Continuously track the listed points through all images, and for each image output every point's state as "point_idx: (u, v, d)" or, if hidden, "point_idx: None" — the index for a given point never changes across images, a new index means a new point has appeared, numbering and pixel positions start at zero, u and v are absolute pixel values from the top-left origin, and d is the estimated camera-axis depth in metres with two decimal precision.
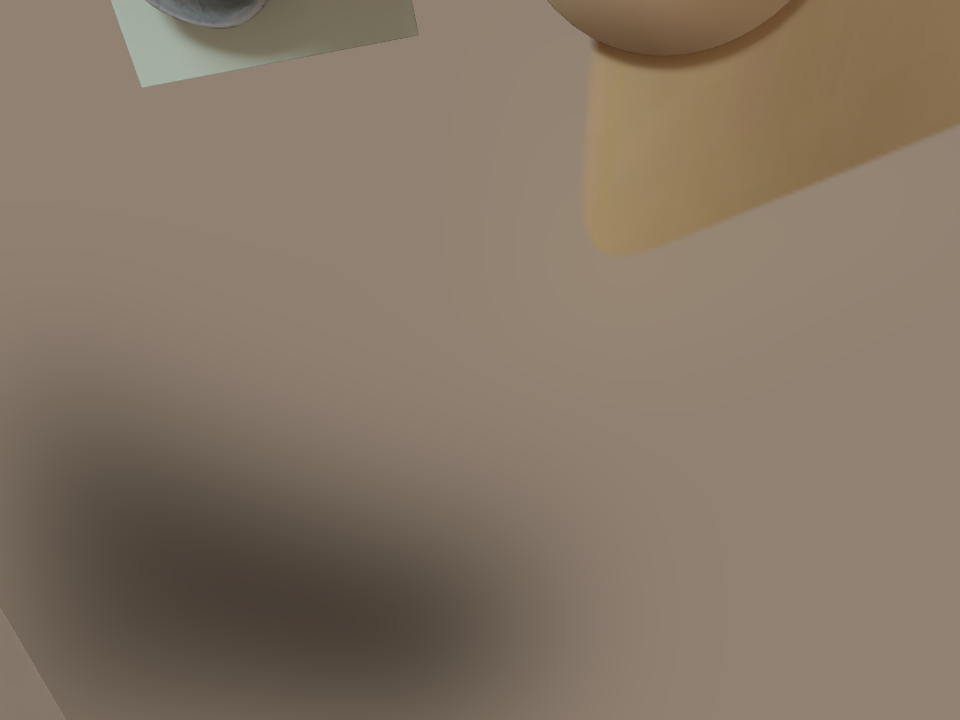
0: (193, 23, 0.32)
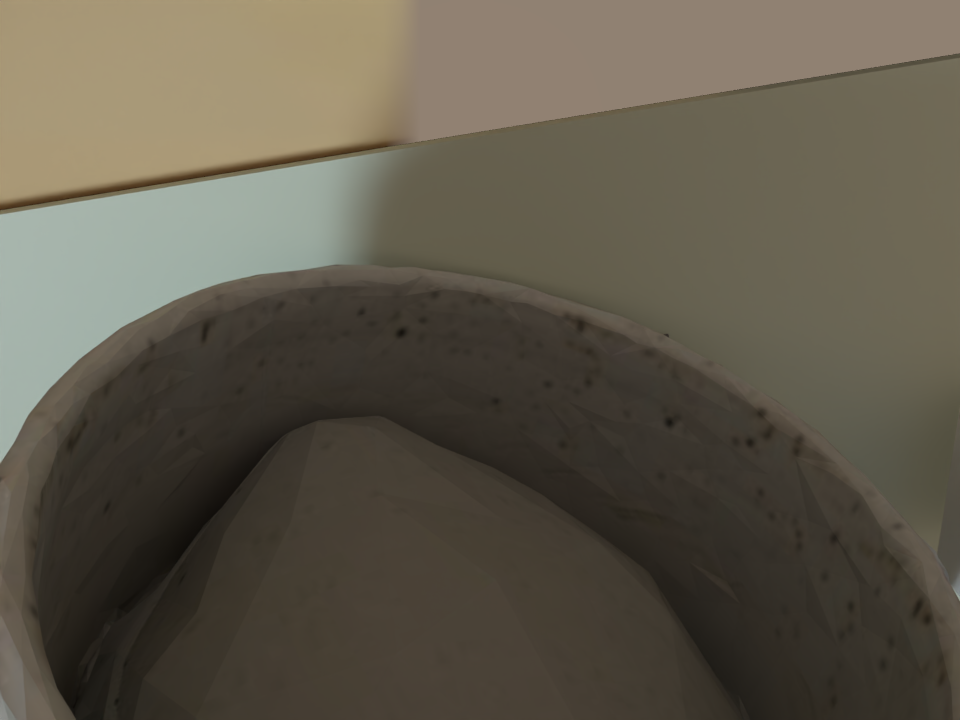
0: None
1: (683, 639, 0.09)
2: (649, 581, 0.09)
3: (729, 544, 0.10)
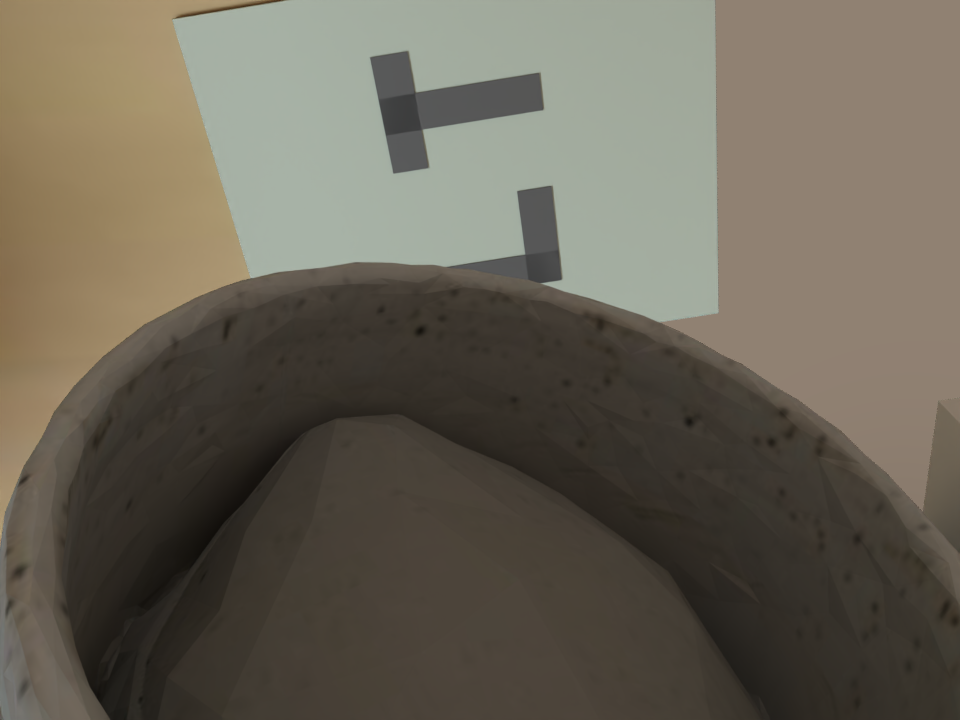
0: None
1: (705, 639, 0.09)
2: (669, 581, 0.09)
3: (749, 544, 0.10)
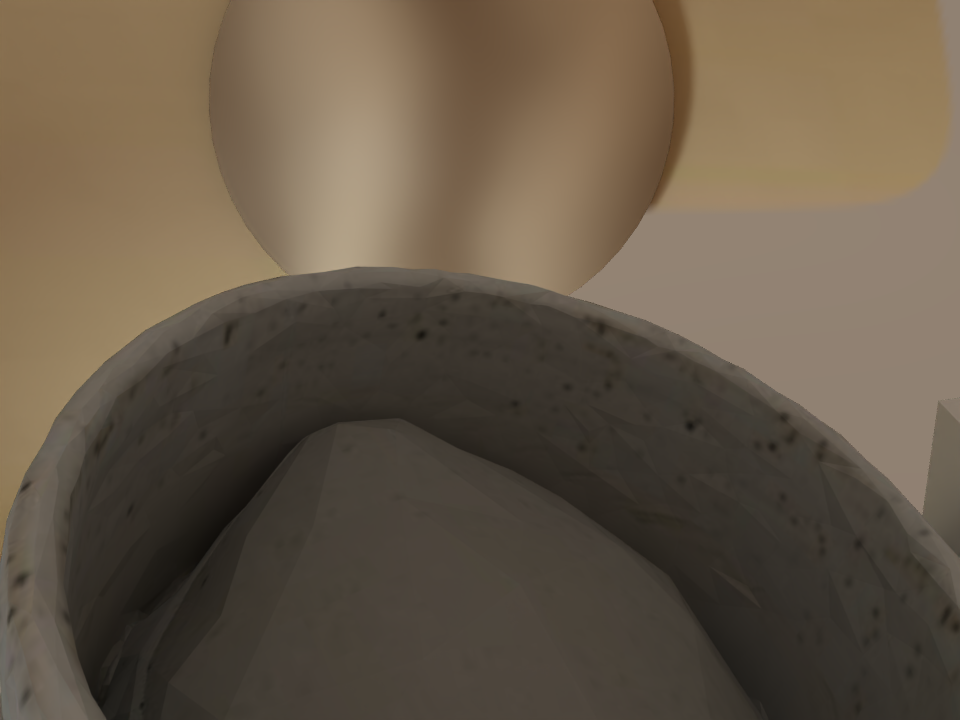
0: None
1: (706, 644, 0.09)
2: (670, 585, 0.09)
3: (750, 549, 0.10)
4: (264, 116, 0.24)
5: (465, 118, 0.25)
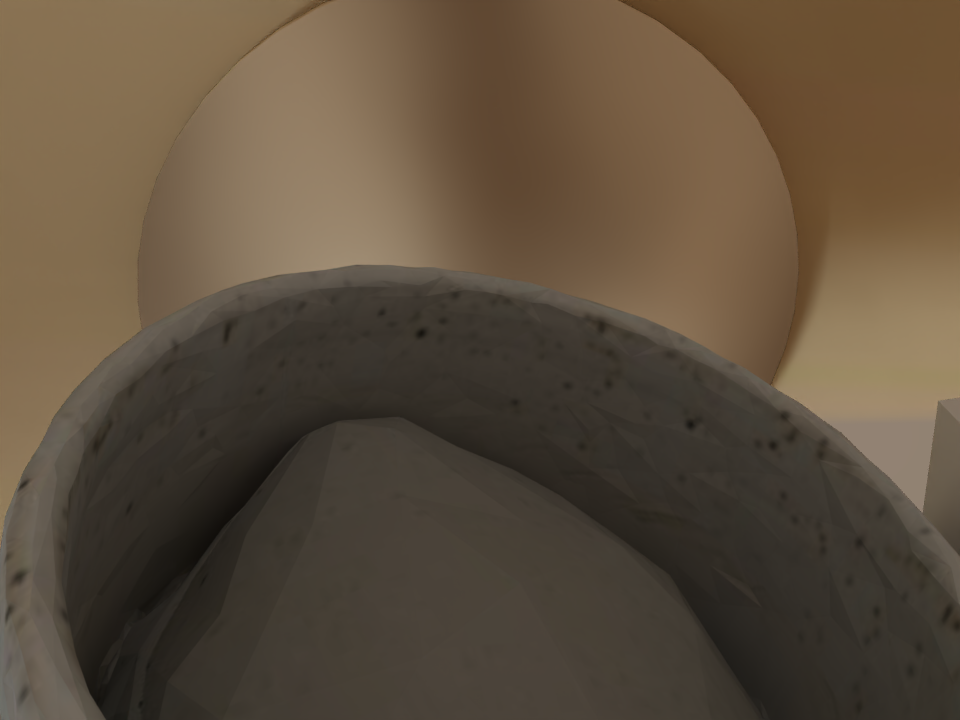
0: None
1: (706, 643, 0.09)
2: (671, 584, 0.09)
3: (751, 548, 0.10)
4: None
5: None
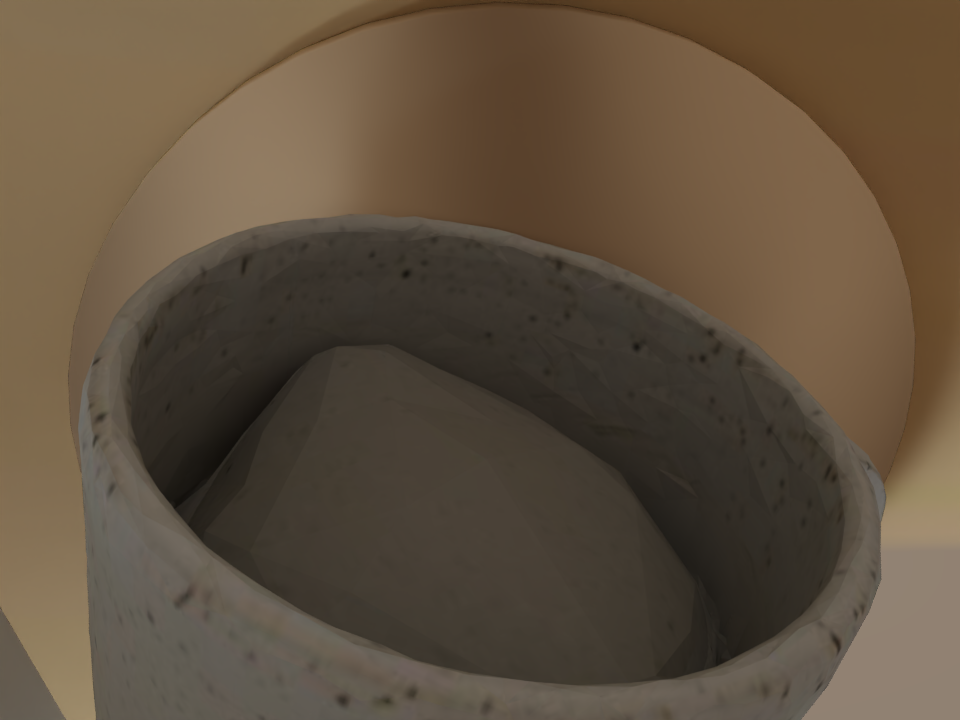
0: None
1: (645, 517, 0.10)
2: (619, 476, 0.11)
3: (688, 448, 0.12)
4: None
5: None
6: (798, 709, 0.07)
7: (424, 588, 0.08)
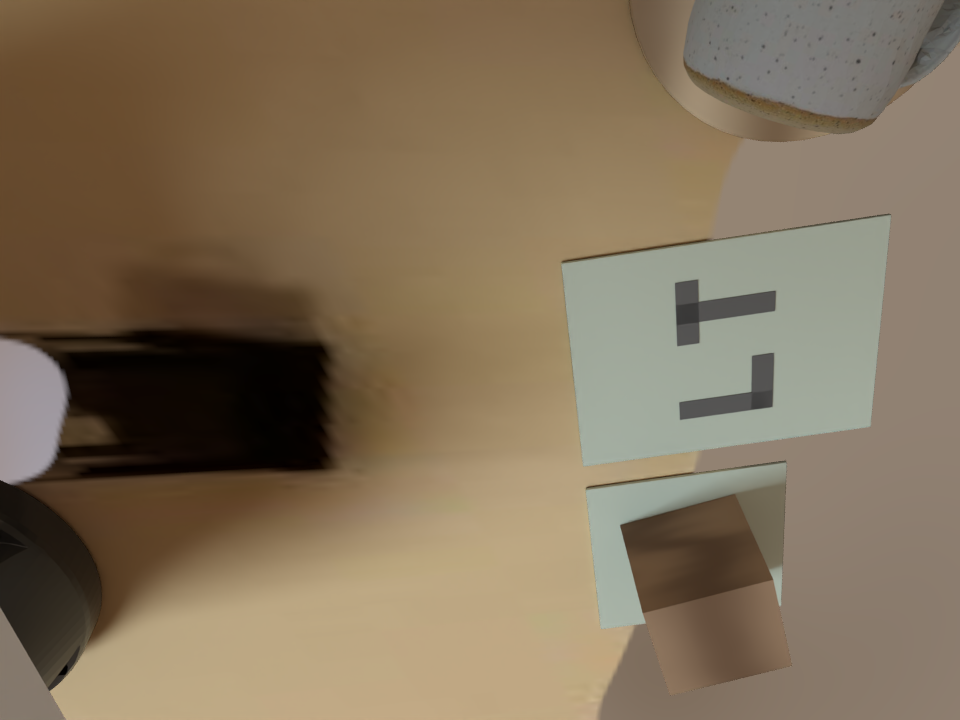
0: None
1: None
2: None
3: None
4: None
5: None
6: None
7: None
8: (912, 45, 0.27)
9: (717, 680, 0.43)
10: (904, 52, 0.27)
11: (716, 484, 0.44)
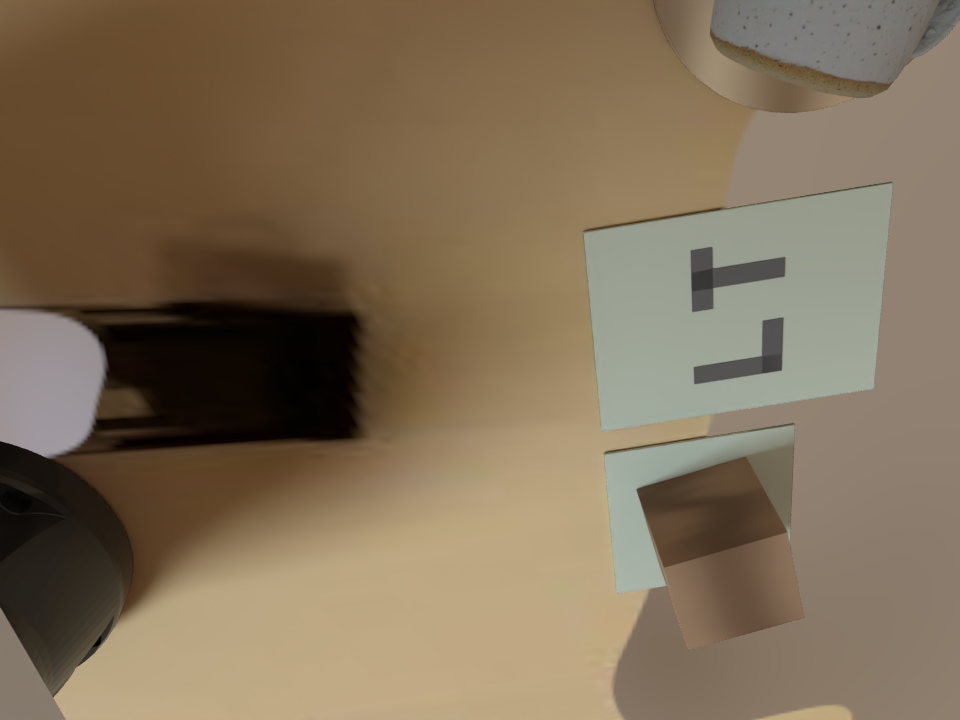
0: None
1: None
2: None
3: None
4: None
5: None
6: None
7: None
8: (926, 13, 0.29)
9: (733, 633, 0.45)
10: (920, 19, 0.29)
11: (728, 447, 0.46)
